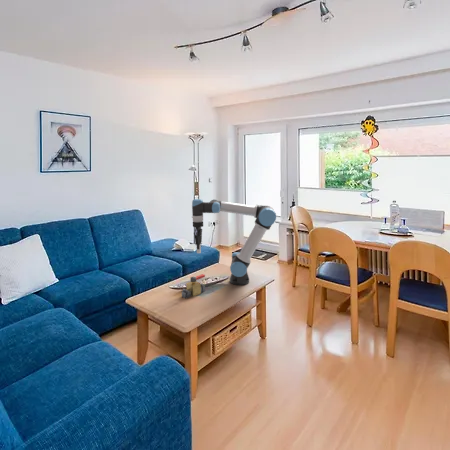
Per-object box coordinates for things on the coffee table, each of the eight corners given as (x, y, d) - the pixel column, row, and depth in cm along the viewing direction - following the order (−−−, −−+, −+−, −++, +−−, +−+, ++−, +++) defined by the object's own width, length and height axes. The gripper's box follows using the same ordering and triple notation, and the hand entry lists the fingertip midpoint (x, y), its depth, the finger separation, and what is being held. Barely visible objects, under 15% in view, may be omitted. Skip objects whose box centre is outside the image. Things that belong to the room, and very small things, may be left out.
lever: (193, 282, 218) (193, 279, 217) (189, 281, 221) (189, 277, 220) (205, 277, 226) (205, 274, 226) (201, 276, 229) (201, 273, 229)
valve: (200, 288, 231) (200, 276, 229) (206, 291, 226) (206, 279, 224) (180, 296, 219) (179, 283, 217) (186, 299, 214) (186, 286, 212)
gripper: (195, 219, 232) (196, 250, 237) (189, 222, 219) (191, 255, 224) (205, 219, 230) (206, 250, 235) (200, 223, 218) (201, 256, 222)
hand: (198, 253), depth 229 cm, fingers closed
